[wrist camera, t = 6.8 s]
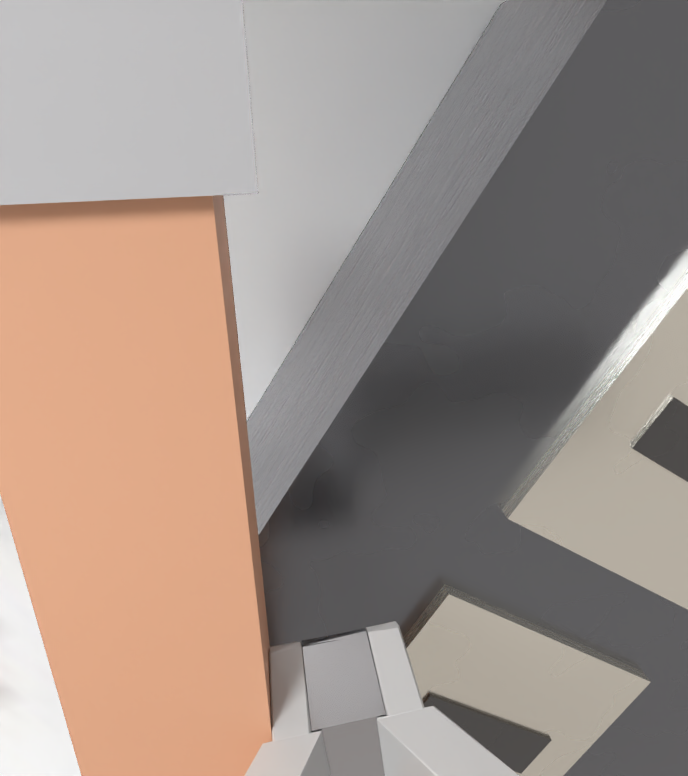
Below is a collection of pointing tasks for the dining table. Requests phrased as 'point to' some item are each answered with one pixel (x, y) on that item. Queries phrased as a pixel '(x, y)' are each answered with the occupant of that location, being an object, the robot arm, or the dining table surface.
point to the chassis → (510, 403)
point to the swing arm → (131, 377)
